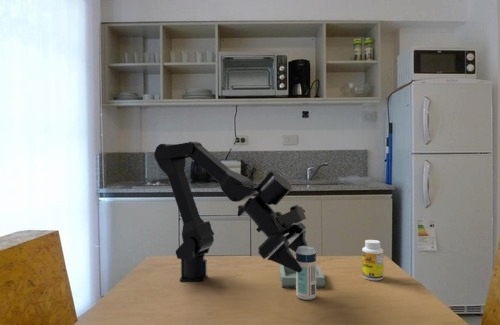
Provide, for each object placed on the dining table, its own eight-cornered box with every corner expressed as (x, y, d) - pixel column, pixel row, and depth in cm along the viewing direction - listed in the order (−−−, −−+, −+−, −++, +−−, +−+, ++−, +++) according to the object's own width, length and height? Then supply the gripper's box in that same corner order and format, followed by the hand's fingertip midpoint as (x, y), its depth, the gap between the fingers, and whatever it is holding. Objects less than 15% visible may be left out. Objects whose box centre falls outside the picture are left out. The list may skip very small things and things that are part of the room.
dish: (281, 287, 95) (281, 277, 95) (280, 273, 106) (279, 264, 106) (324, 287, 95) (324, 277, 95) (318, 273, 106) (318, 264, 106)
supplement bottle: (358, 276, 103) (357, 240, 103) (373, 273, 105) (373, 238, 105) (371, 282, 98) (371, 244, 98) (387, 279, 100) (387, 242, 100)
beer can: (315, 293, 91) (315, 245, 90) (317, 301, 86) (316, 250, 86) (295, 293, 91) (295, 245, 91) (296, 300, 86) (296, 250, 86)
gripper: (269, 200, 82) (318, 254, 77) (298, 192, 99) (339, 236, 94) (239, 232, 86) (284, 286, 81) (271, 219, 102) (310, 263, 98)
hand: (307, 265), depth 88 cm, fingers open, 9 cm apart
